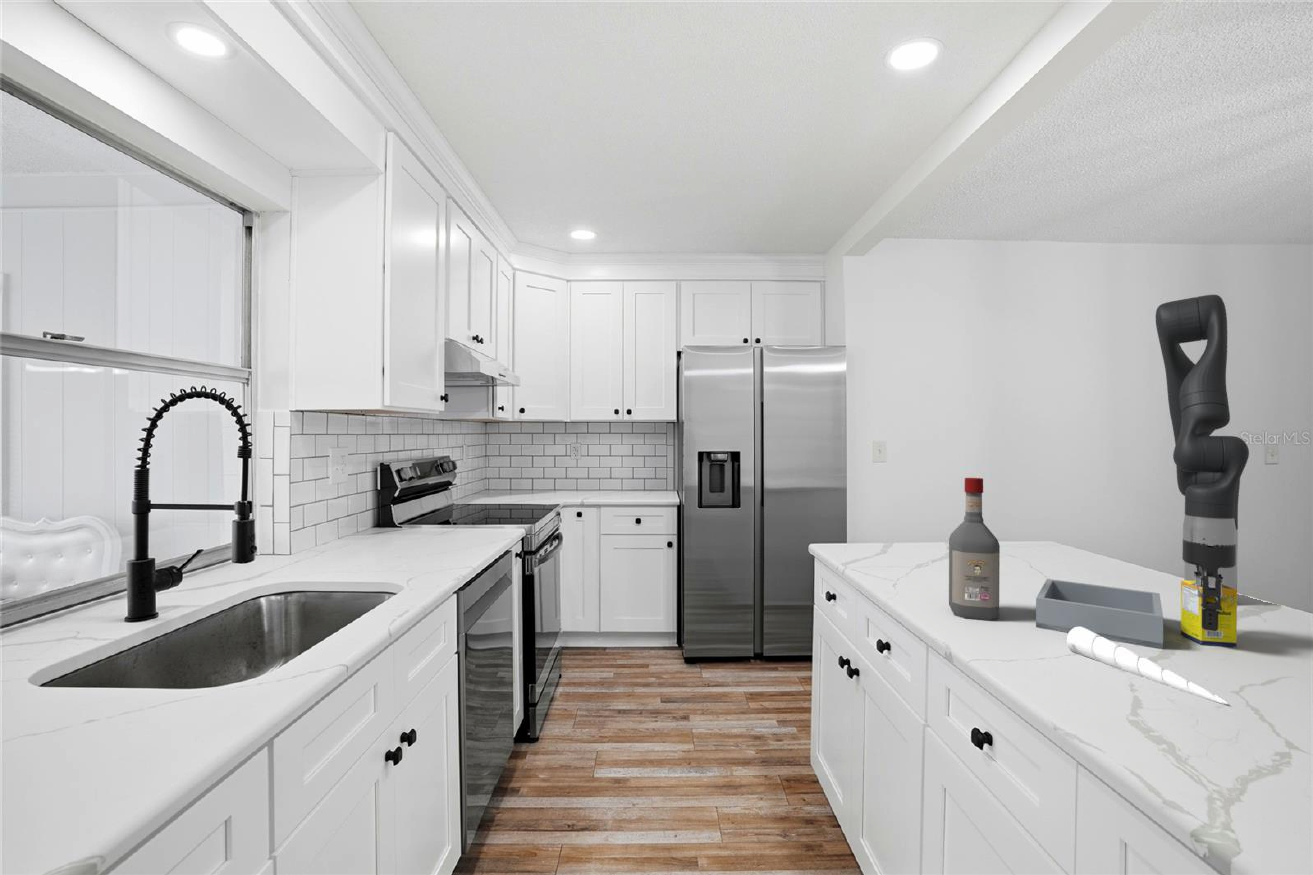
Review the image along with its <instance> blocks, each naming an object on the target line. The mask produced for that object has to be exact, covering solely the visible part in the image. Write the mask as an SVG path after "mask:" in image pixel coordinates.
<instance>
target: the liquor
mask: <svg viewBox="0 0 1313 875" xmlns="http://www.w3.org/2000/svg"><path fill="white" fill-rule="evenodd" d="M964 493H965V511H964V512H965V515H964V518H963V521H962V522H961V523H960V524H959V525H958V526H957V527H956V528H955V529H954V530H953V531H952V532H951V533H950V536H949V538H948V606H949V608H950V609H951V612H952V614H953V615H954V616H956V617H959V618H963V619H969V620H977V621H978V620H979V621H981V620H982V621H993V620H997V619H998V618H999V616H1000V558H1001V556H1000V555H1001V554H1000V553H1001V552H1000V551H1001V550H1000V549H1001V548H1000V547H1001V546H1000V543H999V539H998V538H997V537H996V536H995V535H994V534H993V533H992V531H991V530H990V529H989V528H988V526H987V525H986V524H985V523H984V518H983V493H984V478H982V477H965V478H964Z"/></svg>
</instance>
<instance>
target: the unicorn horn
mask: <svg viewBox="0 0 1313 875" xmlns="http://www.w3.org/2000/svg"><path fill="white" fill-rule="evenodd" d="M1066 644H1067V645H1066V646H1067V647H1068V649H1069V651H1071V652H1072V653H1075V654H1079V655H1081V656H1084V657H1087V658H1089V659H1092V660H1095V661H1096V662H1097V661H1098V662H1101V663H1103V664H1104V665H1109V666H1111V667H1114V668H1116V669H1118V670H1123V671H1125V672H1126V673H1131V674H1133V675H1136V676H1139V677H1141V678H1145V679H1147V680H1151V681H1153V682H1156V683H1159V684H1162V685H1165V686H1168V687H1171V688H1172V689H1175V690H1179V691H1181V692H1184V693H1187V694H1190V695H1193V696H1197V697H1199V698H1202V699H1204V700H1208V701H1211V702H1214V703H1218V704H1223V705H1230V703H1228V702H1227V701H1226V700H1224V699H1223V698H1221V697H1219V696H1218V695H1216V694H1213V692H1211V691H1209V690H1207V689H1206V688H1203V687H1202V686H1200V685H1198V684H1196V683H1195V682H1192V681H1190V682H1189V681H1188V679H1187V678H1185V677H1183V676H1181V675H1179V674H1177V673H1176V672H1173V671H1172V670H1169V669H1164V666H1162V665H1159V664H1157V663H1156V662H1154V661H1151V660H1150V659H1148V658H1146V657H1141V655H1140V654H1138V653H1136V652H1134V651H1132V650H1130V649H1128V648H1125V647H1123V646H1120V644H1118V643H1116V642H1113V640H1108V639H1106V638H1104V637H1100V635H1098V634H1096V633H1094V632H1092V631H1090V630H1088V629H1086V628H1083V627H1075V628H1073V629H1072V630H1071V631H1070V632H1069V633H1068V634H1067V636H1066Z"/></svg>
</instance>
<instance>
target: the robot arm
mask: <svg viewBox="0 0 1313 875" xmlns="http://www.w3.org/2000/svg"><path fill="white" fill-rule="evenodd" d="M1225 304H1226V303H1225V302H1224V300H1223V298H1222V297H1221V296H1220V295H1219V294H1206V295H1201V296H1197V297H1196V296H1194V297H1190V298H1184V299H1179V300H1173V301H1169V302H1168V301H1167V302H1164V303H1161V304H1160V305H1159V306H1157V308H1156V310H1155V326H1156V331H1157V332H1156V334H1157V336H1158V341H1159V346H1160V351H1161V354H1162V355H1161V356H1162V359H1163V360H1162V361H1163V364H1164V370H1165V378H1166V379H1165V380H1166V389H1167V398H1168V399H1167V401H1168V409H1169V414H1170V420H1171V424H1172V426H1171V427H1172V430H1173V436H1174V437H1173V438H1174V445H1175V446H1174V450H1173V454H1172V458H1173V462H1174V464H1175V467H1176V482H1177V487H1178V490H1179V492H1180V493H1181V495H1182V496H1184V518H1183V524H1182V555H1181V556H1182V558H1181V559H1182V560H1183V562H1184V578H1183V580H1190V581H1195V583H1196V584H1197V596H1198V597H1201V604H1200V607H1201V609H1202V628H1203V629H1205V630H1211V631H1217V630H1218V611H1219V610H1221V608H1222V606H1221V600H1222V586H1223V585H1225V586H1228V587H1231V588H1234V589H1237V590H1238V549H1239V548H1238V544H1239V543H1238V539H1239V538H1238V534H1239V533H1238V532H1239V530H1238V529H1239V525H1238V524H1239V523H1238V522H1239V517H1238V516H1239V496H1240V495H1239V493H1240V485H1241V476H1242V474H1243V473H1244V470H1245V467H1246V465H1247V463H1248V460H1249V455H1250V450H1249V447H1248V444H1247V443H1246V442H1245V441H1244V440H1243V438H1240V437H1238V436H1236V435H1235V436H1234V435H1212V434H1213V433H1214V431H1218V430H1220V429H1223V428H1224V427H1226V426H1227V425H1228V424H1229V423H1230V421H1231V413H1230V407H1229V397H1228V392H1227V390H1228V389H1227V360H1228V315H1227V309H1226V305H1225ZM1199 341H1200V342H1201V341H1207V342H1206V345H1205V349H1204V351H1203V353H1202V355H1201V356H1200V357H1199V359H1198V361H1197V362H1196V363H1195V362H1193V361H1192V360H1191V359H1190V358H1189V357H1188V356H1187V354H1186V353H1185V351H1184V350H1183V348H1182V347H1181V345H1180V344H1186V343H1193V342H1199ZM1201 586H1202V593H1201V592H1200V590H1199V588H1198V587H1201ZM1208 588H1211V589H1208ZM1206 598H1209V599H1213V600H1215V603H1212V602H1206Z"/></svg>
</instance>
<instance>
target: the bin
mask: <svg viewBox="0 0 1313 875" xmlns="http://www.w3.org/2000/svg"><path fill="white" fill-rule="evenodd" d="M1163 613H1164V612H1163V607H1162V601H1161V594H1160V593H1159V592H1153V591H1152V592H1151V591H1146V590H1145V591H1143V590H1137V589H1136V590H1135V589H1131V588H1130V589H1129V588H1122V587H1116V586H1115V587H1114V586H1105V585H1097V584H1090V583H1083V582H1075V581H1067V580H1060V579H1059V580H1058V579H1051V578H1046V579H1045V581H1044V583H1043V585H1042V587H1041V589H1040V590H1039V592H1038V594H1037V596H1035V627H1036V628H1039V629H1045V630H1052V631H1058V632H1063V633H1068V634H1069V632H1070V631H1071V630H1072V629H1073V628H1075V627H1083V628H1086V629H1088V630H1090V631H1092V632H1094V633H1096V634H1098V635H1100V637H1104V638H1106V639H1108V640H1110V641H1112V642H1113V641H1115V642H1119V643H1126V644H1133V645H1138V646H1143V647H1148V648H1155V649H1159V650H1160V649H1161V650H1164V614H1163Z"/></svg>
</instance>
